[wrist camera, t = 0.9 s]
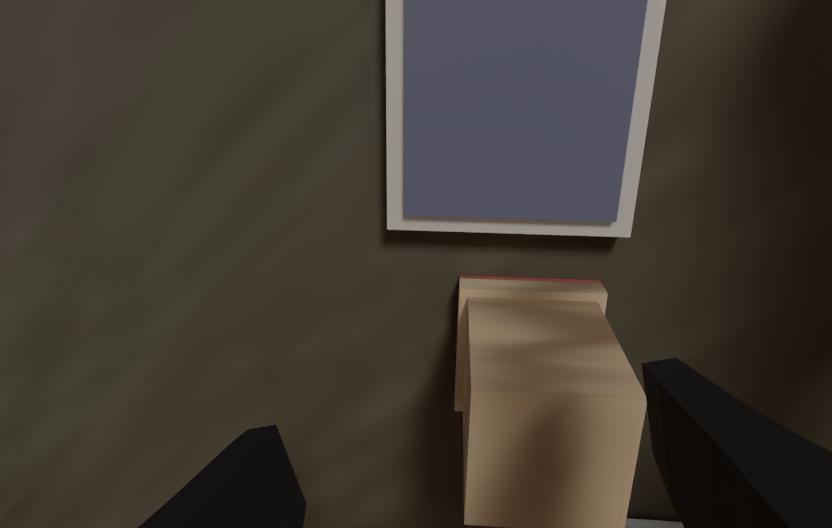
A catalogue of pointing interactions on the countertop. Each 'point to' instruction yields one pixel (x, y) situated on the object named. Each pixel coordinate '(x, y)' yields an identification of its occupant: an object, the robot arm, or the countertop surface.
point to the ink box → (651, 524)
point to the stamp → (544, 405)
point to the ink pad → (518, 114)
